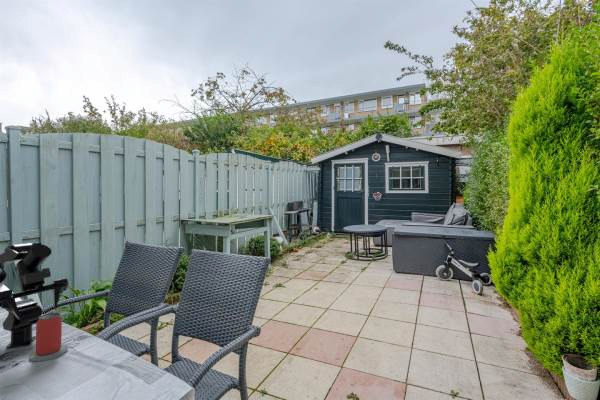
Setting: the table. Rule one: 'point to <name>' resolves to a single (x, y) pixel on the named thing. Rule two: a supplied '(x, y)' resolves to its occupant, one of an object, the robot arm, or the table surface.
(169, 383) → the table surface
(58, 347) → the beer can
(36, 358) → the slate coaster
